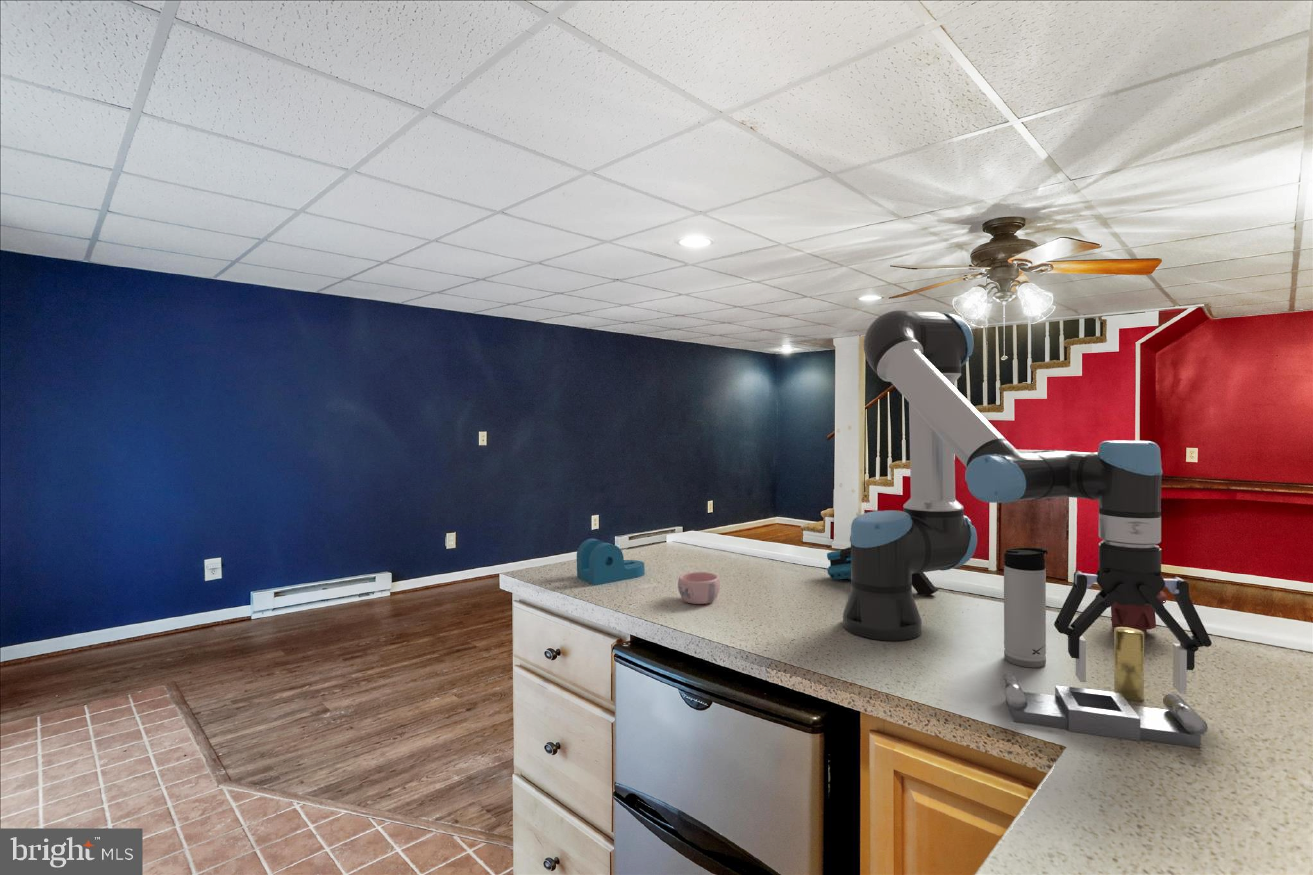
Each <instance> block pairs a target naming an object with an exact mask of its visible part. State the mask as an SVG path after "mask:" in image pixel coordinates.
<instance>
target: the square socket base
mask: <svg viewBox="0 0 1313 875" xmlns="http://www.w3.org/2000/svg"><path fill="white" fill-rule="evenodd" d="M1000 684H1001V687H1002V690H1003V693H1004V695H1005V702H1006V704H1007V707H1008V710H1009V713H1010V715H1011V717H1012V721H1013V723H1022V724H1028V725H1036V726H1043V727H1049V728H1050V727H1051V728H1057V729H1064V730H1068V731H1069V732H1074V733H1081V734H1086V735H1096V736H1100V737H1101V736H1102V737H1108V738H1109V737H1111V738H1115V739H1124V740H1131V741H1137V742H1141V740H1142V741H1148V742H1155V743H1162V744H1170V745H1176V746H1177V745H1178V746H1185V747H1191V748H1197V749H1201V748H1202V747H1201V746H1202V745H1201V744H1202V743H1201V737H1202V736H1201V735H1204V734H1205V733H1207V731H1208V724H1207V722H1206V720H1204V719H1203V718H1202V717H1201V716H1200V715H1199V714H1198V712H1197V711H1195V710H1194V708H1192V706H1191V705H1190V704H1189V703H1188V702H1187V701H1186V700H1185V699H1184V698H1183V697H1182V696H1181V695H1179V694H1177V693H1167V694H1166V695H1165V696H1163V698H1162V704H1163V705H1164V707H1165V708H1166V709H1164V708H1163V709H1162V708H1155V707H1149V706H1148V707H1146V706H1141V705H1140V706H1139V705H1131V704H1129V702H1128V700H1125V698H1124V697H1123V696H1122V695H1121V693H1116V692H1114V691H1108V690H1097V689H1089V688H1082V687H1074V686H1065V685H1064V686H1063V685H1057V684H1055V685H1054V687H1055V688H1054V693H1055V694H1054V695H1053V694H1052V695H1051V694H1042V693H1036V692H1035V693H1034V692H1028V691H1027V692H1026V691H1023V689H1022V687H1021V684H1020V682H1019V679H1018V678H1017V677H1016V676H1015V675H1013V674H1008V673H1007V674H1005V675H1002V676H1001V678H1000Z"/></svg>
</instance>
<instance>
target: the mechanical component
mask: <svg viewBox="0 0 1313 875" xmlns="http://www.w3.org/2000/svg"><path fill="white" fill-rule="evenodd" d="M1156 597H1157V598H1158V600H1159V601H1160V602H1161V603H1162V604H1163V605H1164V604H1165V603H1166V602H1167V595H1166V593H1165V592H1164V591H1163V590H1161V591H1160V592H1159V593H1158V595H1157V596H1156ZM1163 601H1165V602H1163ZM1110 616H1111V617H1110V621H1111V627H1112V629H1114V628H1116V627H1128V628H1133V629H1137V630H1140V631H1142V632H1144V638H1145V637H1147V636H1146V635H1147V634H1146V633H1147V632H1146V631H1147V630H1149V631H1150V630H1153V629H1155V628H1156V627H1157V622H1156V620H1157V618H1156V613H1155V612H1154V610H1153V609H1152V608H1151V607H1150V606H1149V605H1148V604H1146V605H1144V606H1136V605H1133V604H1128V605H1120V604H1118V603H1116V602H1115V603H1114V604H1113V605H1112V606H1111V607H1110Z"/></svg>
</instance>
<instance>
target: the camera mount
mask: <svg viewBox="0 0 1313 875" xmlns="http://www.w3.org/2000/svg"><path fill="white" fill-rule="evenodd" d="M624 557H625V556H624V553H623V551H622V550H621V548H620V547H619V546H617V545H616V544H612V543H609V542H604V541H603V540H599V539H597V538H588V539H585V540H583V542H582V543H580V545H579V547H578V549H577V551H576V578H578V580H581V581H584V582H585V583H588V584H589V585H592V586H599V585H606V584H612V583H616V582H622V581H628V580H634V579H637V578H641V577H643V576H645V574H646V573H645V562H644V561H641V560H637V559H636V560H635V559H624Z"/></svg>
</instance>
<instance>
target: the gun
mask: <svg viewBox="0 0 1313 875" xmlns="http://www.w3.org/2000/svg"><path fill="white" fill-rule="evenodd" d="M826 557H827V561H829V563H830V564H829V566H828V567H827V570H826V571H827V575H828V576H829V577H830V579H831V580H833V581H835V580H836V581H838V580H846V579H851V546H849V547H846V548H843V549H839V550H834V551H833V550H832V551H830V552H827V554H826ZM912 588H914V590H915V592H916V596H917V595H918V596H931V595H933V594H935V593H937V592H938V591H939V588H938V587H935V585H934V584H933V583H932V581H931V580H930V579H929V578H928V576H927V575H926V573H925V572H922V573H914V574H912Z"/></svg>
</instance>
